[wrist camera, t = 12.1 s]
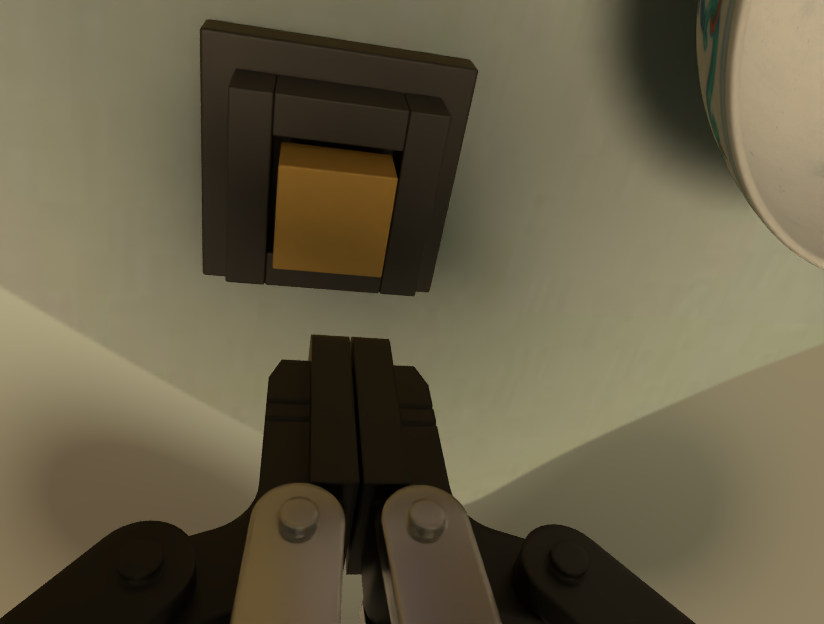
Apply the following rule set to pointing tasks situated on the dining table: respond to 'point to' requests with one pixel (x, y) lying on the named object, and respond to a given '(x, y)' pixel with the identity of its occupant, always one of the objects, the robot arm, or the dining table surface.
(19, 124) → the dining table surface
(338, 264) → the orange square block
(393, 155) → the button base
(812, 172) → the chinaware
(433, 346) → the dining table surface
